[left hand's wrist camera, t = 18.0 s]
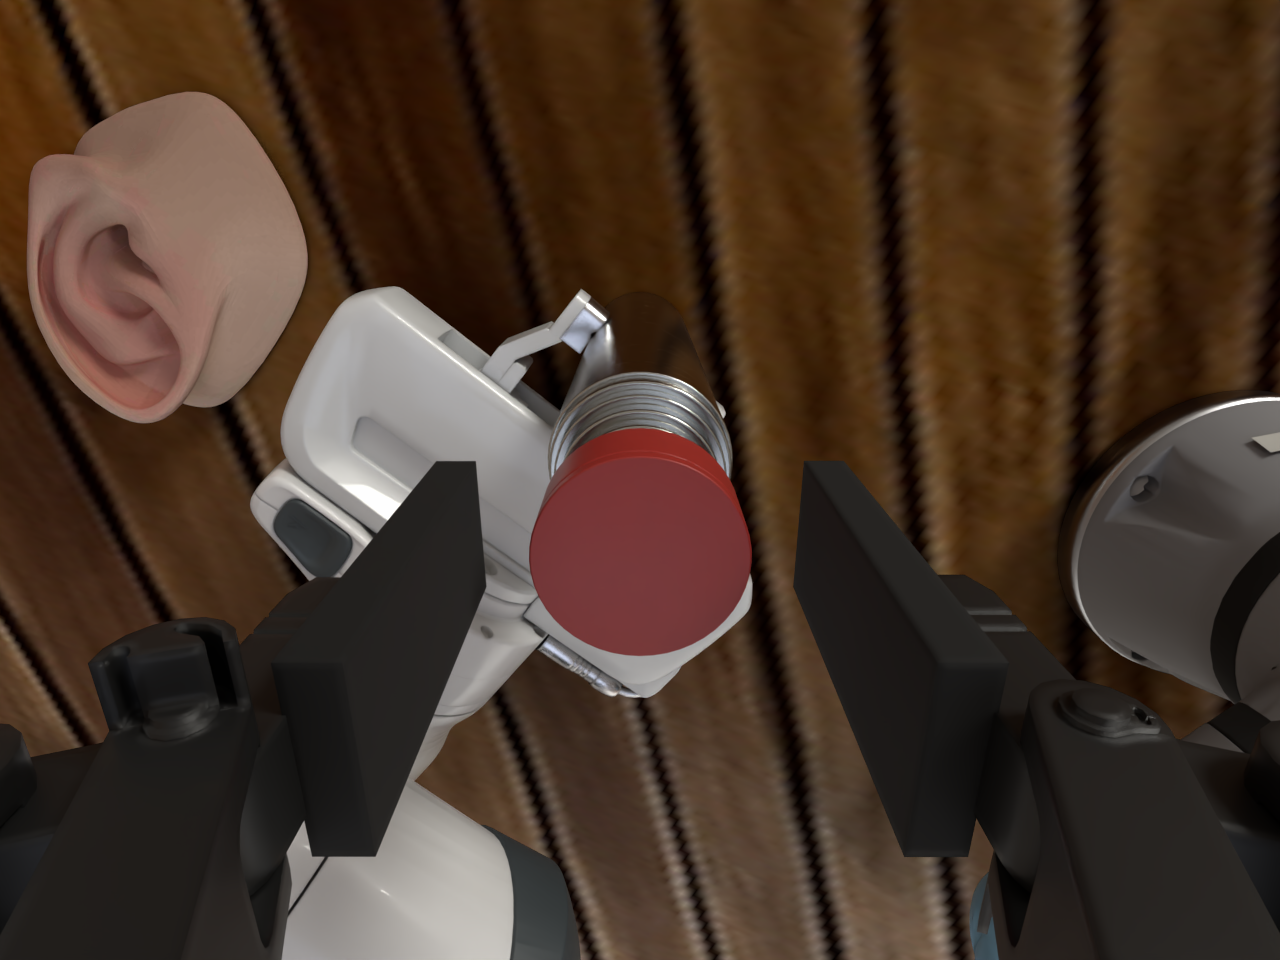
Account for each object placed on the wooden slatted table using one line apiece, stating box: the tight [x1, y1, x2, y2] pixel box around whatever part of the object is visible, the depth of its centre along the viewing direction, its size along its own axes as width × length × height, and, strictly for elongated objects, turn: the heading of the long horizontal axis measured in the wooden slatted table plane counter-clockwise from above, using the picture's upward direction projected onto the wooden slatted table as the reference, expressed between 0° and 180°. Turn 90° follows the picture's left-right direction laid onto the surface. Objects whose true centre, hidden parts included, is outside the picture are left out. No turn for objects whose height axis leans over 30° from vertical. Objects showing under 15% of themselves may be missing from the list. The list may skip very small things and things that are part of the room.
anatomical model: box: [27, 92, 308, 423], centre depth 31 cm, size 13×4×12 cm
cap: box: [529, 428, 752, 656], centre depth 13 cm, size 4×4×2 cm
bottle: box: [548, 292, 733, 480], centre depth 24 cm, size 5×5×23 cm
